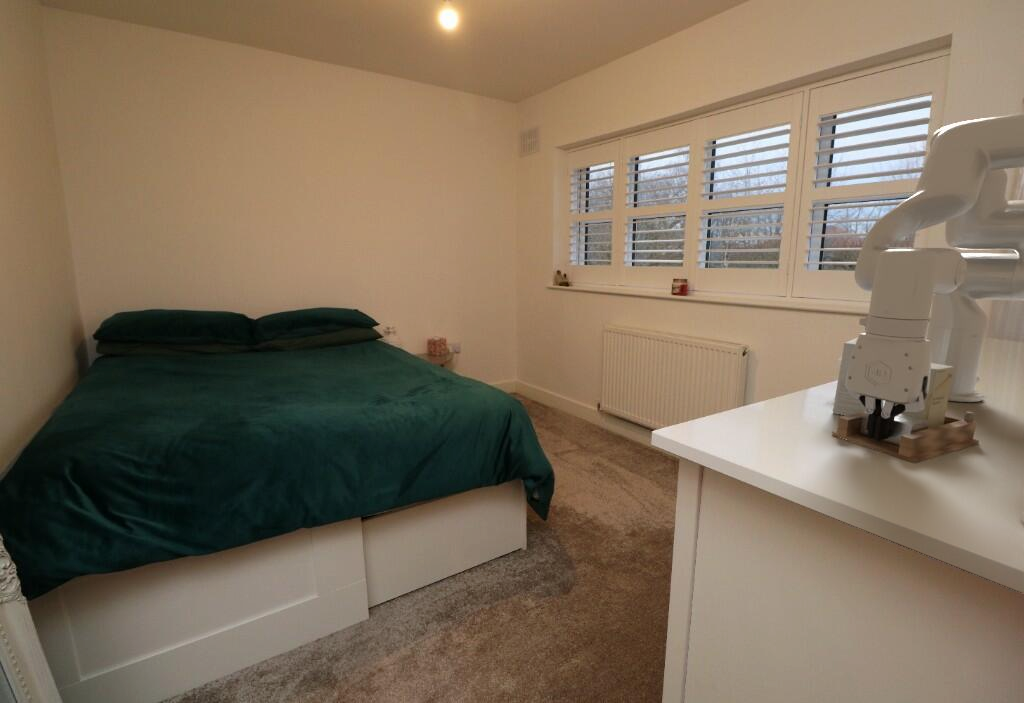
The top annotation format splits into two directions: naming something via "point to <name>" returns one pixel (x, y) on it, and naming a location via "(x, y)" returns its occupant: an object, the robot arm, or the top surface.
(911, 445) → the holder
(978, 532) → the top surface
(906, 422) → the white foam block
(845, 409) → the skincare box
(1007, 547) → the top surface
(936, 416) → the skincare box
